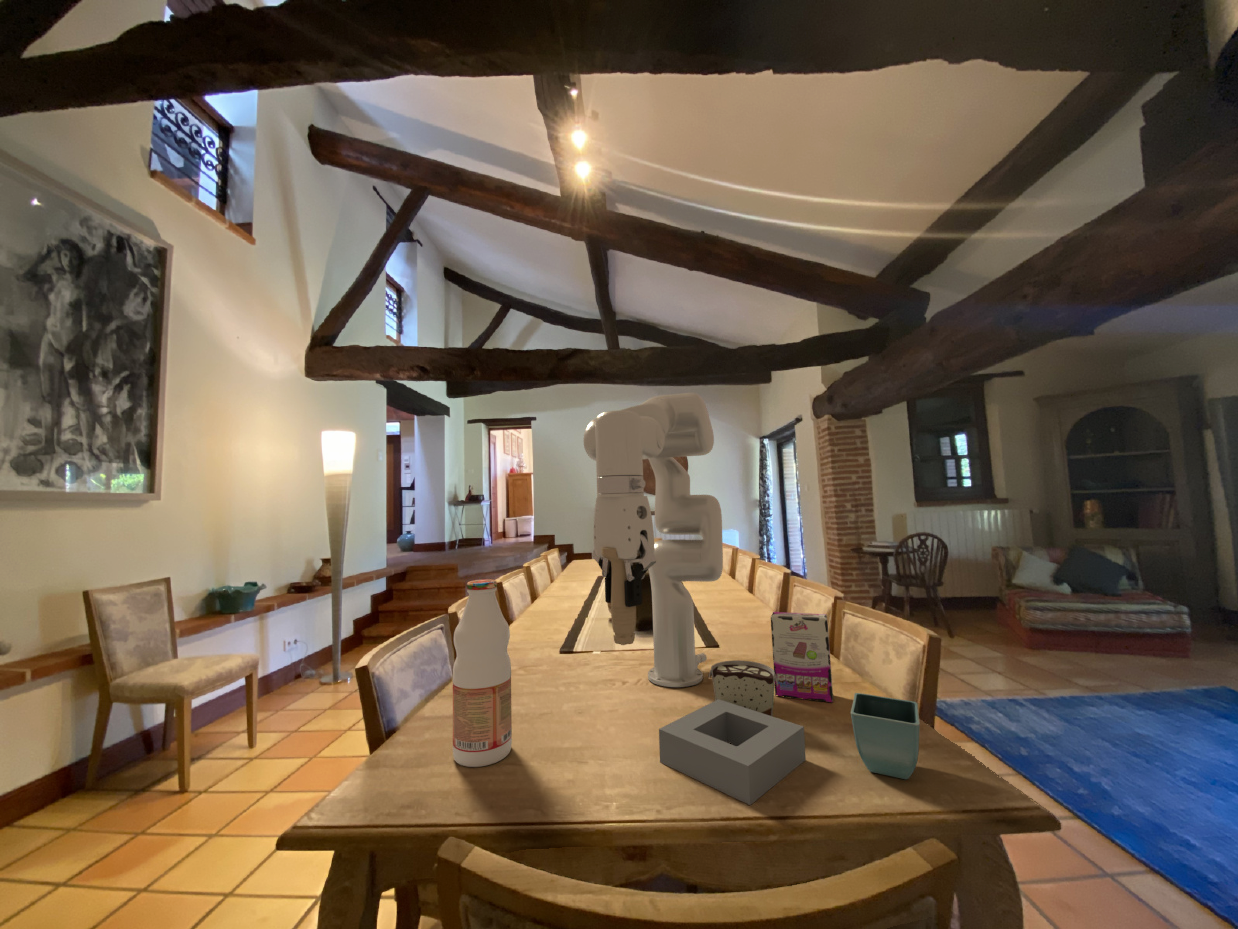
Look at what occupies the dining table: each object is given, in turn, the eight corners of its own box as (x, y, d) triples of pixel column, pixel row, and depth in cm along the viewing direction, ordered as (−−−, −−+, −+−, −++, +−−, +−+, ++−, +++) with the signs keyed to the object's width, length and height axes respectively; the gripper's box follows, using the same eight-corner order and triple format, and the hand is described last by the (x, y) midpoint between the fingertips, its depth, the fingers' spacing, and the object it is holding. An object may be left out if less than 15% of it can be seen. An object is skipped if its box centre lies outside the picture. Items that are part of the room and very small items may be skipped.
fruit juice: (461, 775, 75) (461, 588, 77) (446, 750, 83) (446, 581, 85) (520, 756, 80) (518, 581, 82) (500, 735, 88) (499, 575, 90)
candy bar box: (832, 694, 102) (828, 613, 103) (833, 703, 97) (828, 618, 99) (776, 688, 106) (772, 610, 107) (774, 696, 102) (770, 615, 103)
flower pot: (925, 792, 68) (920, 724, 68) (854, 776, 72) (850, 712, 73) (922, 762, 75) (917, 701, 76) (858, 749, 80) (854, 692, 80)
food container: (784, 719, 91) (781, 663, 92) (780, 733, 85) (777, 674, 86) (718, 709, 96) (716, 656, 97) (710, 722, 91) (708, 666, 91)
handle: (642, 648, 75) (639, 548, 76) (601, 647, 76) (598, 548, 77) (646, 638, 80) (643, 545, 81) (607, 638, 81) (605, 545, 82)
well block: (719, 728, 88) (718, 699, 89) (805, 760, 77) (803, 726, 77) (659, 762, 77) (658, 729, 78) (749, 805, 66) (748, 766, 66)
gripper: (674, 486, 76) (679, 607, 75) (604, 489, 88) (607, 593, 87) (639, 486, 71) (644, 616, 70) (570, 490, 83) (573, 600, 82)
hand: (623, 602), depth 78 cm, fingers closed on handle, 3 cm apart
